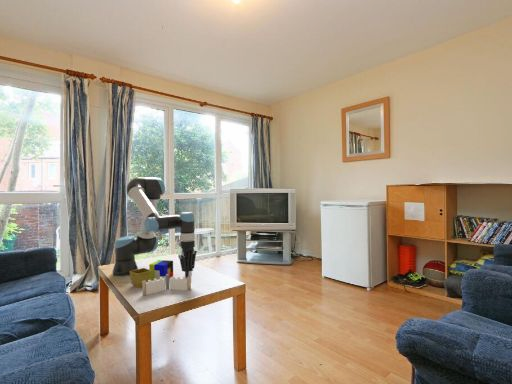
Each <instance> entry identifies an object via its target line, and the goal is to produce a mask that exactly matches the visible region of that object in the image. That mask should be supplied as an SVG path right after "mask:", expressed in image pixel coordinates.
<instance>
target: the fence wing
mask: <svg viewBox="0 0 512 384" xmlns="http://www.w3.org/2000/svg"><path fill="white" fill-rule="evenodd" d="M169 290H174V291H175V290H176V291H192V276H188V278H186V276H185V275H184V276H183V277H181V276H180V275H179V276H177V277H176V276H175V275H173V276H172V277H170V278H169Z"/></svg>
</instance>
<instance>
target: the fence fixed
mask: <svg viewBox="0 0 512 384" xmlns="http://www.w3.org/2000/svg"><path fill="white" fill-rule="evenodd" d="M141 288H142V296H143V297H144V296H147V295H148V296H149V295H151V294H155V293H158V292H163V291H167V290H168V291H169V290H170V278H169V274H166V280H165V278H163V279H162V277H160V279H159V280H157V279H156V278H155V279H154V280H152V281H151V280H148V282H147V283H146V281H142V287H141Z"/></svg>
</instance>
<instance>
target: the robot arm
mask: <svg viewBox="0 0 512 384" xmlns="http://www.w3.org/2000/svg"><path fill="white" fill-rule="evenodd" d="M125 190H126V194H127V196H128V198H129V199H130V200H132V201H133V202H134V205H136V207H137V208H138V210H139V212H140V213H141V215H142V216H141V223H140V229H139V230H140V231H139V232H138V233H137V235H136V237H135V236H134V235H127V236H121V237H119V238H117V239H116V240H115V241H114V258H115V262H114V265H113V269H112V275H113V276H117V277H122V276H123V277H124V276H130V271H133V270H137V269H139V267H138V264H137V262H136V260H135V259H136V257H135V256H136V255H144V254H149V253H152V252H154V251H156V250H157V248H158V245H159V239H158V236H157V235H156V233H155V232H159V231H165V230H166V231H167V230H173V229H179V230H180V248H181V253H180V254H179V255H178V259H179V262H180V267H181V271H182V272H184V276H186V278H188V276H191V277H192V275H193V274H192V273H193V271H194V269H195V265H196V257H197V256H196V255H197V253H198V251H197V250H195V245H196V244H195V243H196V242H195V238H196V237H195V214H194V212H193V211H184V212H183V211H182V212H180V214H178V213H175V214H171V215H164V216H161V215H160V214H159V212H158V210H157V209H158V201H159V200H160V199H161V196H163V195H164V194H165V192H166V186H165V182H164V180H163V179H162V178H160V177H155V176H154V177H139V176H138V177H135V178H133V179H131V180H129V182H128V183H127V186H126V189H125Z"/></svg>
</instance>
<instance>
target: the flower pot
mask: <svg viewBox="0 0 512 384" xmlns="http://www.w3.org/2000/svg"><path fill="white" fill-rule="evenodd" d="M129 277H130V281H131V284H132V286H133V287H135V288H142V281H146V283H147V282H148V280H150V278H151V270H149V268H145V267H143V268H138V269H137V270H133V271H130V275H129Z"/></svg>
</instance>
